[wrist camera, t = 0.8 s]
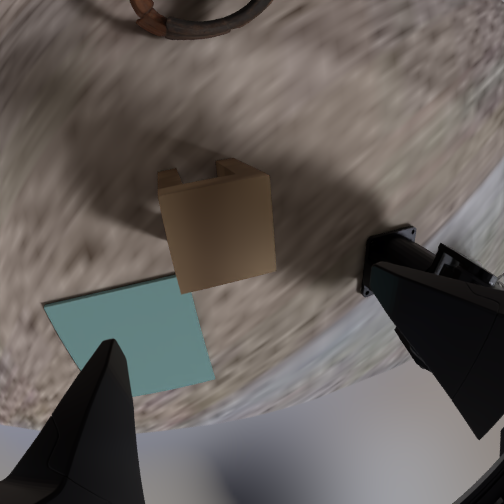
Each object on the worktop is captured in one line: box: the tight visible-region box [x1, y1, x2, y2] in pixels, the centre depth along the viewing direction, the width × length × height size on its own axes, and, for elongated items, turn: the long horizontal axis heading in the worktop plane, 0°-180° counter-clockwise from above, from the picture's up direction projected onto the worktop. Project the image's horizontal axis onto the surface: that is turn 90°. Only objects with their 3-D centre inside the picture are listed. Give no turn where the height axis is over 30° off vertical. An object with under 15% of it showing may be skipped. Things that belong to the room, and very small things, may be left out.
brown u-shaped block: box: [158, 158, 276, 295], centre depth 16 cm, size 5×5×7 cm
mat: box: [44, 275, 215, 397], centre depth 22 cm, size 12×12×1 cm
